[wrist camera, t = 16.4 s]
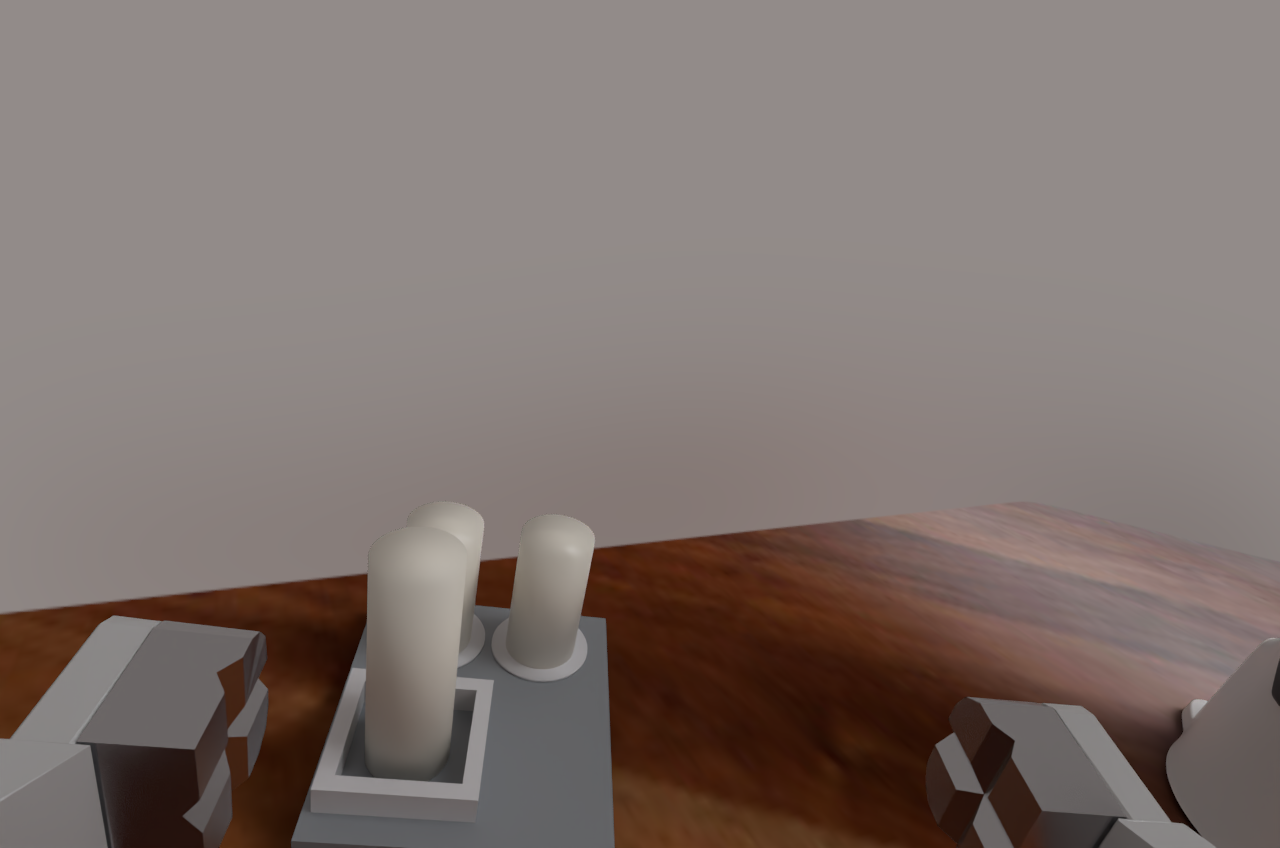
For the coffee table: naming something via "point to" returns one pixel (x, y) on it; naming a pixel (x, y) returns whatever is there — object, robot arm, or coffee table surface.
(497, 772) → the pin board
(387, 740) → the ivory pin
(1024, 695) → the coffee table surface
